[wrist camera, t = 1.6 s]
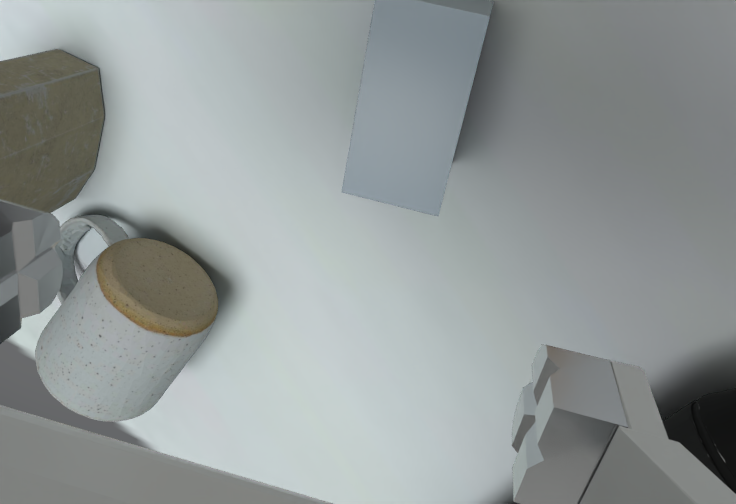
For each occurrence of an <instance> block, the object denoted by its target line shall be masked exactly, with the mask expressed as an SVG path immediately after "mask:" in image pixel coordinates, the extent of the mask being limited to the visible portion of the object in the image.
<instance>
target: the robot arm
mask: <svg viewBox="0 0 736 504" xmlns="http://www.w3.org/2000/svg"><path fill="white" fill-rule="evenodd" d="M60 240H61V234H60V224H59V221H58V220H57V218H56V217H55V216H54V215H53V214H51V213H48V212H44V211H41V210H37V209H34V208H30V207H27V206H23V205H20V204H16V203H13V202H9V201H6V200H2V199H0V344H1V343H2V342H4V341H5V340H6V339H7V338H9V337H10V336H11V335H13V334H14V333H15V332H16V331H18V330H19V329H20V328H21V321H22V318H24V317H28V316H32V315H35V314H39V313H41V312H42V311H43V310H44V309H46V308H47V307H48V306H49V305H50V304H51V303H52V302H53V300H54V298H55V297H56V295H57V293H58V292H59V290H60V287H61V282H62V277H63V266H62V261H61V260H60V258H59V257H58V255H57V254H56V252H55V250H54V249H53V248H54V247H55V246H56V245H57V244H58V242H59V241H60ZM532 379H533V382H531V383H530V384H528V385H526V386H525V387H523V389H522V392H521V395H520V397H519V400H518V403H517V407H516V411H515V415H514V419H513V427H512V446H513V448H514V449H515V450H516V452H517V453H518V454H517V457H516V459H515V462H514V464H513V467H512V470H513V501H514V502H516V503H520V504H736V494H735V493H734V492H733V491H732V490H731V489H730V488H729V487H727V486H726V485H725V484H724V483H723V482H722V481H721V480H720V479H719V478H718V477H717V476H715V475H714V474H713V473H712V472H711V471H710V470H709V469H708V468H707V467H706V466H705V465H703V464H702V463H701V462H700V461H699V460H698V459H697V458H696V457H695V456H694V455H693V454H691V453H690V452H689V451H688V450H687V449H686V448H685V447H684V446H683V445H682V444H680V443H679V442H676V441H673V440H669V439H668V436H667V433H666V430H665V428H664V425H663V422H662V419H661V416H660V414H659V411H658V408H657V405H656V402H655V400H654V397H653V394H652V391H651V388H650V386H649V383H648V380H647V377H646V374H645V372H644V370H643V369H641V368H640V367H638V366H633V365H629V364H624V363H620V362H615V361H611V360H607V359H602V358H598V357H594V356H590V355H586V354H582V353H577V352H573V351H569V350H565V349H561V348H556V347H552V346H548V345H543V344H542V345H541V346H540V348H539V350H538V351H537V353H536V356H535V358H534V361H533V363H532ZM0 504H333V503H329V502H326V501H322V500H319V499H316V498H312V497H309V496H306V495H302V494H299V493H295V492H292V491H289V490H285V489H282V488H279V487H275V486H272V485H268V484H265V483H262V482H258V481H255V480H252V479H248V478H245V477H241V476H238V475H235V474H231V473H228V472H225V471H221V470H218V469H214V468H211V467H208V466H204V465H201V464H197V463H194V462H191V461H187V460H184V459H180V458H177V457H174V456H170V455H167V454H163V453H160V452H157V451H153V450H150V449H147V448H143V447H139V446H136V445H133V444H130V443H126V442H123V441H120V440H116V439H113V438H110V437H106V436H103V435H99V434H96V433H93V432H89V431H86V430H83V429H79V428H76V427H72V426H69V425H66V424H62V423H59V422H55V421H52V420H49V419H45V418H42V417H38V416H35V415H32V414H29V413H25V412H22V411H18V410H15V409H12V408H8V407H5V406H2V405H0Z"/></svg>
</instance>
